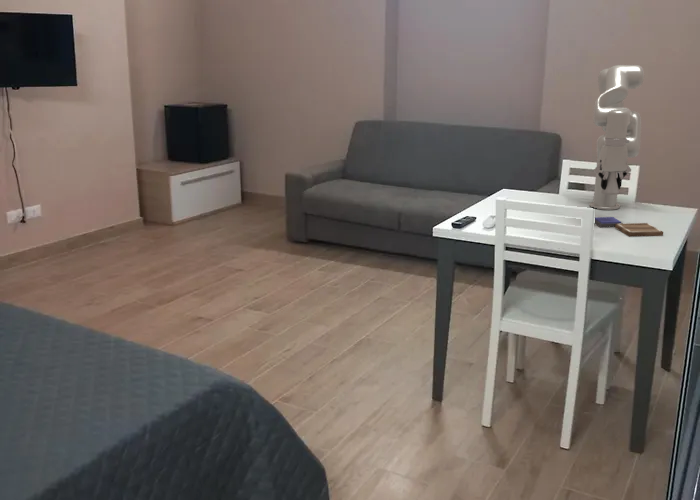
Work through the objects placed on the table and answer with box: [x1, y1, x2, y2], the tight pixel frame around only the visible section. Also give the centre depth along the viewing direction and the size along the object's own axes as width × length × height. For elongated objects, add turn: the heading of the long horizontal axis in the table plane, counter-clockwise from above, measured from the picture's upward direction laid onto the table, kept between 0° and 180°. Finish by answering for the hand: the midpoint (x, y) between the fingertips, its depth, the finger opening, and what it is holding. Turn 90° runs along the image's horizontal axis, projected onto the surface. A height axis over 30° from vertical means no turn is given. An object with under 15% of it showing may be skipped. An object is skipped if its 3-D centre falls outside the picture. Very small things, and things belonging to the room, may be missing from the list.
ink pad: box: [594, 216, 623, 229], centre depth 284 cm, size 9×9×2 cm
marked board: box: [614, 222, 664, 238], centre depth 274 cm, size 13×13×2 cm
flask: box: [601, 172, 621, 196], centre depth 280 cm, size 7×7×10 cm
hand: (610, 188), depth 281 cm, fingers closed on flask, 4 cm apart
